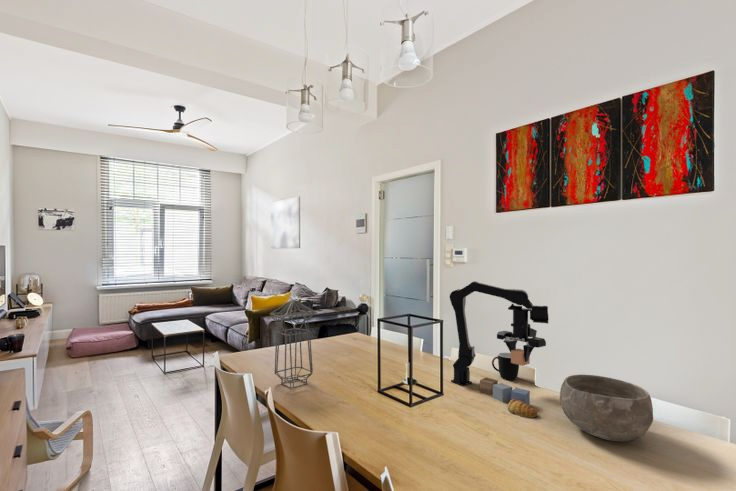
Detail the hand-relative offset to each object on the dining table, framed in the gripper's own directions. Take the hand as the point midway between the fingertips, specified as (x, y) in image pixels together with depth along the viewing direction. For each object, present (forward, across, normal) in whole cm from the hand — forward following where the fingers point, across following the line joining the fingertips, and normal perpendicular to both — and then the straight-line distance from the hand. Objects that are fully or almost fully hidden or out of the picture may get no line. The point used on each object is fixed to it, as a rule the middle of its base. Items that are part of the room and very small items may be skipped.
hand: (520, 360), depth 153 cm
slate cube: (+13, -1, +13) cm, 18 cm away
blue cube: (+13, -8, +12) cm, 19 cm away
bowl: (+13, -36, +11) cm, 40 cm away
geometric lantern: (+13, +58, +73) cm, 94 cm away
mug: (+13, +14, -10) cm, 21 cm away
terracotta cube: (+1, 0, 0) cm, 1 cm away
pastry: (+13, -12, +18) cm, 25 cm away
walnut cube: (+13, +6, +12) cm, 18 cm away
